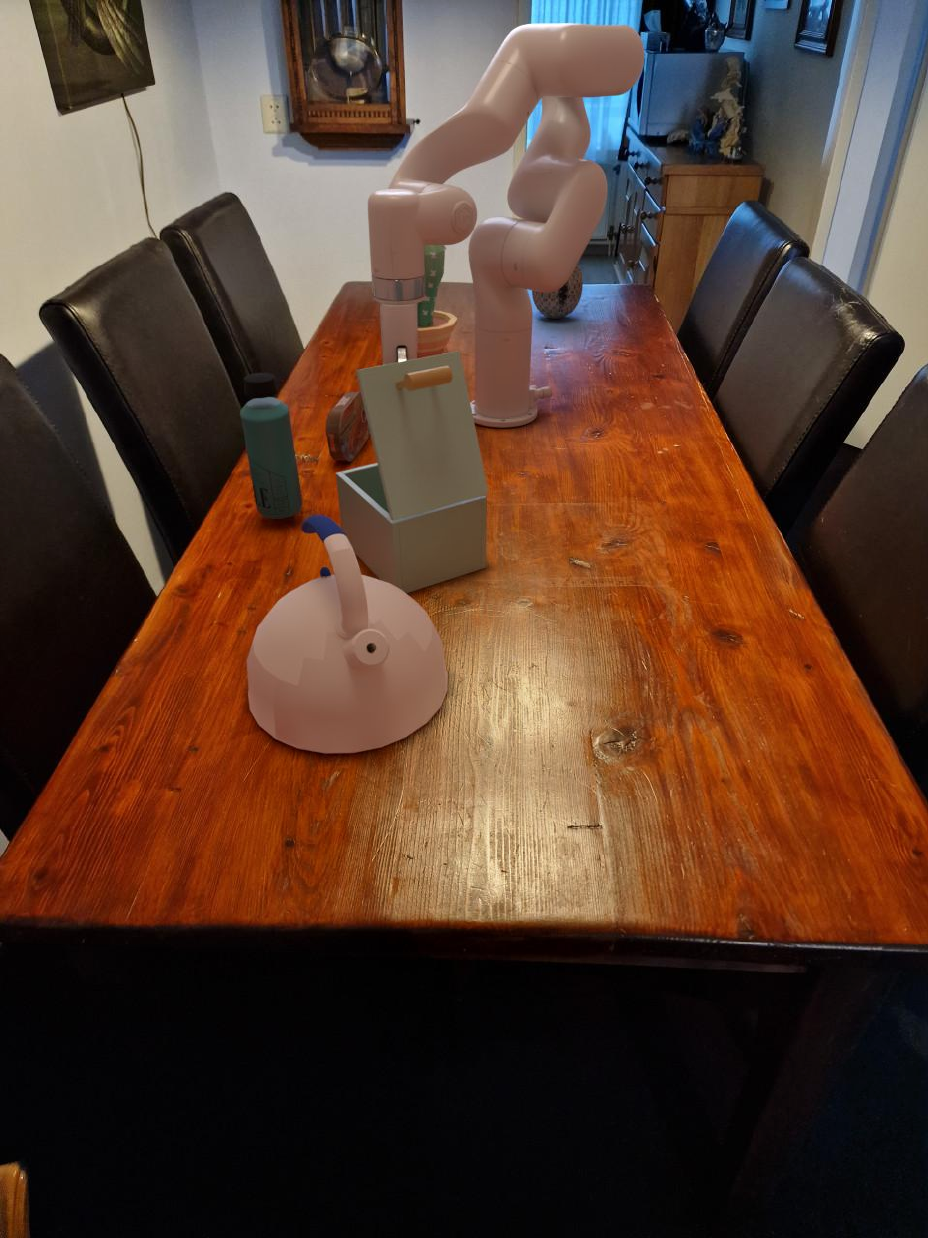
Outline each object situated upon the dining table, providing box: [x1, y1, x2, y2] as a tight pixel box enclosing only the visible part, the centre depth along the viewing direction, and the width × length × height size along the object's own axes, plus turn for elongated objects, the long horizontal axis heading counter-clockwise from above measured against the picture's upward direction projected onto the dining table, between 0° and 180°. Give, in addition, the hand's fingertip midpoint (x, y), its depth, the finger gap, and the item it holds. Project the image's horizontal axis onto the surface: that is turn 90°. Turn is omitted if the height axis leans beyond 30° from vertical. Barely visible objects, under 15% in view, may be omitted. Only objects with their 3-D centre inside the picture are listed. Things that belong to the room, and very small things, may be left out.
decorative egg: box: [531, 263, 584, 320], centre depth 190 cm, size 12×12×15 cm
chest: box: [335, 462, 488, 594], centre depth 102 cm, size 16×13×10 cm
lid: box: [355, 350, 489, 520], centre depth 90 cm, size 16×13×5 cm
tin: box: [325, 391, 371, 463], centre depth 129 cm, size 15×3×8 cm, turn 168°
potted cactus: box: [417, 245, 458, 359], centre depth 162 cm, size 15×15×25 cm
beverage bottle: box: [239, 372, 303, 520], centre depth 107 cm, size 6×7×20 cm
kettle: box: [246, 514, 449, 754], centre depth 78 cm, size 20×21×18 cm
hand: (403, 404), depth 126 cm, fingers open, 9 cm apart
